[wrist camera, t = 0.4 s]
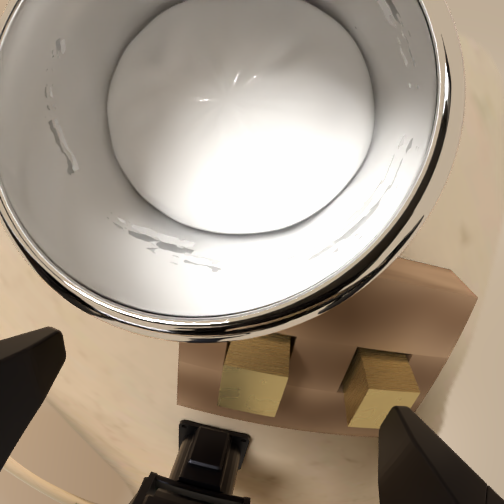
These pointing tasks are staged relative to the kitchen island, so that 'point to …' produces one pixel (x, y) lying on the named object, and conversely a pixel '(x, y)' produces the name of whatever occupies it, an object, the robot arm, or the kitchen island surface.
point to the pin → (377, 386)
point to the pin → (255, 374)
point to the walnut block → (346, 348)
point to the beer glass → (222, 153)
